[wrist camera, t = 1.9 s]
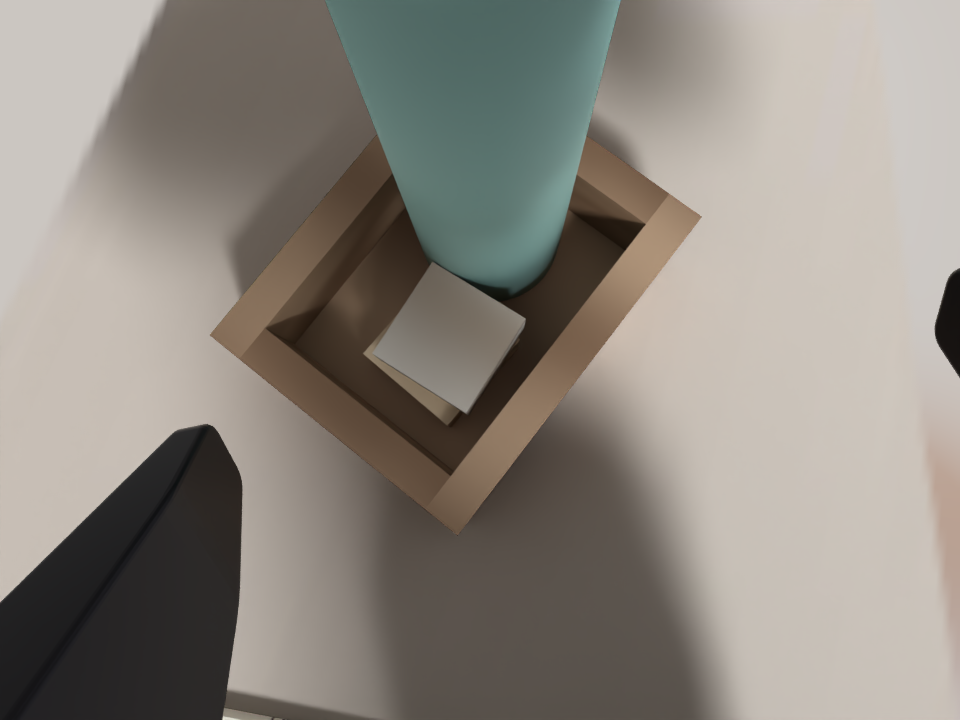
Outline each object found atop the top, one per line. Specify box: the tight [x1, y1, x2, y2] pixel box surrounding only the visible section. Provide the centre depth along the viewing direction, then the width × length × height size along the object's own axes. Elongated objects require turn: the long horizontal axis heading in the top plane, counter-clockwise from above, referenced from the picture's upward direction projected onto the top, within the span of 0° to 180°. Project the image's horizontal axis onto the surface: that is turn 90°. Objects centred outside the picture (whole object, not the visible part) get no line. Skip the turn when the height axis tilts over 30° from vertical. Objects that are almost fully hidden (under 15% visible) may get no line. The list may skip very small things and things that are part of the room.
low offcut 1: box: [372, 262, 526, 416], centre depth 18 cm, size 3×3×1 cm
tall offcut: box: [325, 0, 621, 302], centre depth 14 cm, size 4×4×13 cm
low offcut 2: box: [363, 314, 520, 427], centre depth 19 cm, size 3×3×1 cm
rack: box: [210, 135, 701, 536], centre depth 19 cm, size 10×8×3 cm
